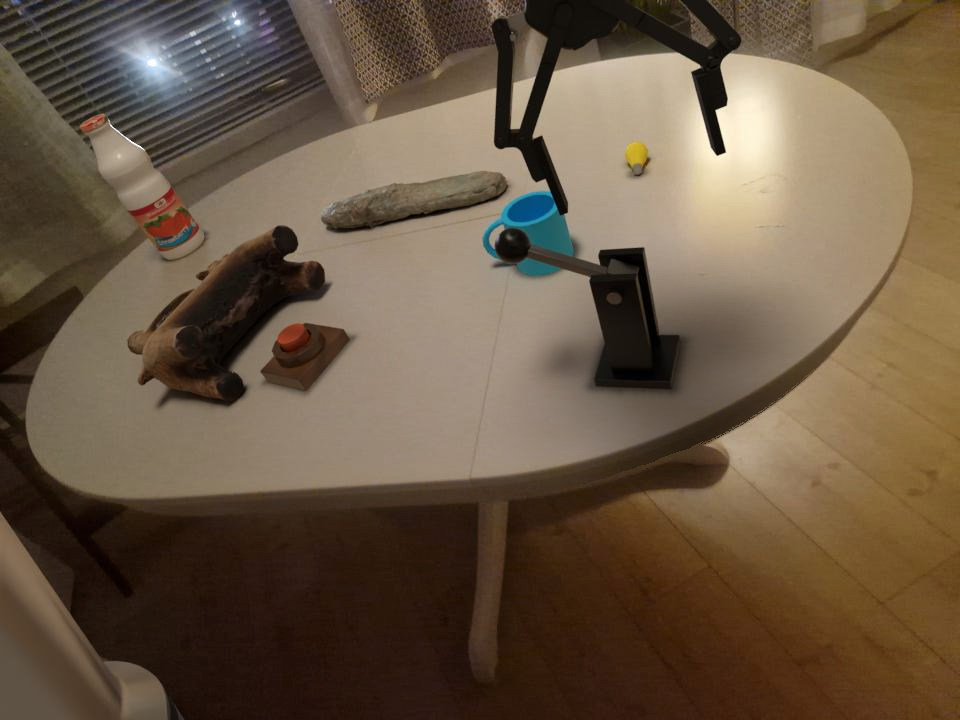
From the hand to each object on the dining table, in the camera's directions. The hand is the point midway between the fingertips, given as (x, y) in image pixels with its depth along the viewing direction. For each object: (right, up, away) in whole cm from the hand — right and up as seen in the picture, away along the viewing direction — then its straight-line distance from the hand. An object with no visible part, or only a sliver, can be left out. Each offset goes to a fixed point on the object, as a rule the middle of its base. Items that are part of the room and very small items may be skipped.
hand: (638, 181), depth 56 cm
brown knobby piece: (-53, -12, +46) cm, 71 cm away
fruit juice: (-75, +8, +78) cm, 108 cm away
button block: (-38, -16, +35) cm, 53 cm away
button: (-39, -13, +32) cm, 52 cm away
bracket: (+4, -16, +15) cm, 22 cm away
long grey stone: (-25, +11, +58) cm, 64 cm away
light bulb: (+11, +14, +44) cm, 48 cm away
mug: (-6, -2, +35) cm, 36 cm away
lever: (-6, -7, +9) cm, 13 cm away
